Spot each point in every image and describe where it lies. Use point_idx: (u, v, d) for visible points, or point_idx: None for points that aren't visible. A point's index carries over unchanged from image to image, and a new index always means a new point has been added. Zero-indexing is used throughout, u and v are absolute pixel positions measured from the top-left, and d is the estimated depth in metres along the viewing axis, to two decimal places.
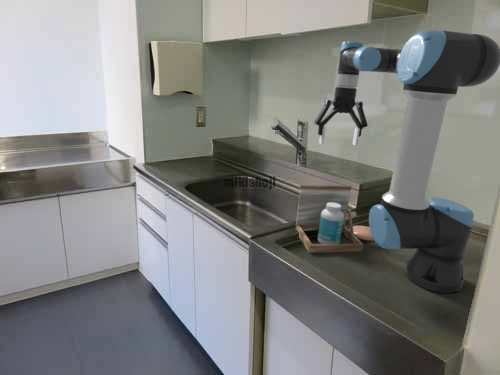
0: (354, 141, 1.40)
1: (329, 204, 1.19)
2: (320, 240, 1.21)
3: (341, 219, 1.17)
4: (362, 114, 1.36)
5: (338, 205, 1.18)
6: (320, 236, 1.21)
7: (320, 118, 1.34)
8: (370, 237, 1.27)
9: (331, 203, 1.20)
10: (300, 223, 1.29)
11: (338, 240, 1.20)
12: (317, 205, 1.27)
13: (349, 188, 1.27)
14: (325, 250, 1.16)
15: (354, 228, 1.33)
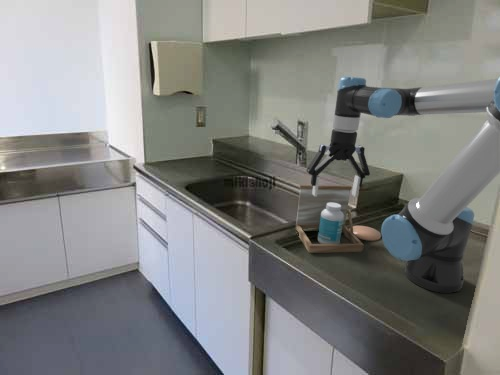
0: (354, 191, 1.18)
1: (329, 204, 1.19)
2: (320, 240, 1.21)
3: (341, 219, 1.17)
4: (363, 161, 1.14)
5: (338, 205, 1.18)
6: (320, 236, 1.21)
7: (313, 167, 1.12)
8: (370, 237, 1.27)
9: (331, 203, 1.20)
10: (300, 223, 1.29)
11: (338, 240, 1.20)
12: (317, 205, 1.27)
13: (349, 188, 1.27)
14: (325, 250, 1.16)
15: (354, 228, 1.33)
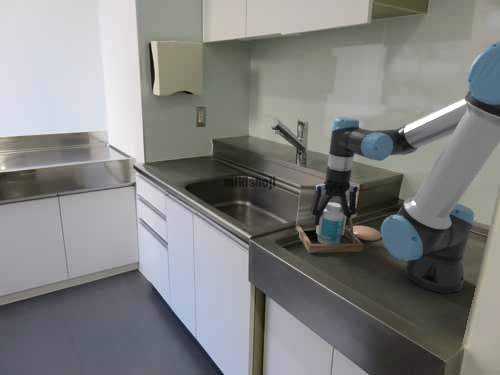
0: None
1: (329, 204, 1.19)
2: (320, 240, 1.21)
3: (341, 219, 1.17)
4: (353, 200, 1.18)
5: (338, 205, 1.18)
6: (320, 236, 1.21)
7: (315, 207, 1.17)
8: (370, 237, 1.27)
9: (331, 203, 1.20)
10: (300, 223, 1.29)
11: (338, 240, 1.20)
12: None
13: None
14: (325, 250, 1.16)
15: (354, 228, 1.33)
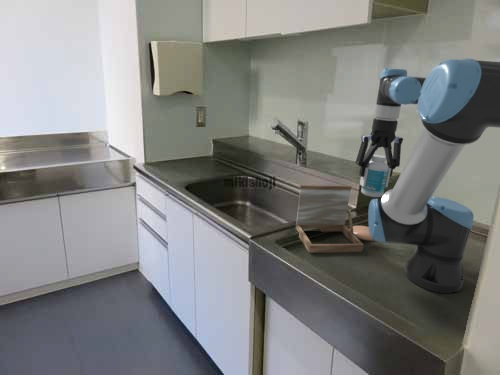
0: None
1: (374, 156, 1.22)
2: (365, 191, 1.24)
3: (386, 170, 1.21)
4: (398, 152, 1.21)
5: (383, 156, 1.22)
6: (365, 187, 1.24)
7: (361, 158, 1.20)
8: (370, 237, 1.27)
9: (376, 155, 1.23)
10: (300, 223, 1.29)
11: (382, 191, 1.23)
12: (317, 205, 1.27)
13: (349, 188, 1.27)
14: (325, 250, 1.16)
15: (354, 228, 1.33)
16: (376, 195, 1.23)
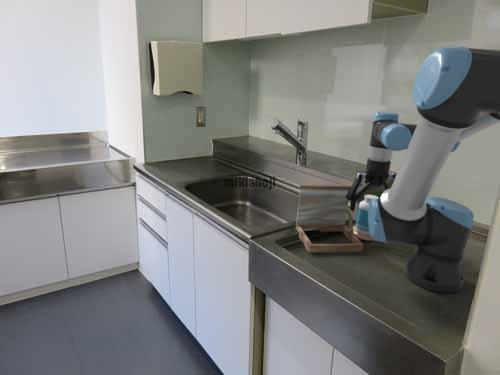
0: None
1: (367, 196, 1.27)
2: (358, 230, 1.29)
3: None
4: None
5: (376, 197, 1.27)
6: (358, 226, 1.29)
7: (352, 194, 1.24)
8: (370, 237, 1.27)
9: (369, 195, 1.28)
10: (300, 223, 1.29)
11: None
12: (317, 205, 1.27)
13: (349, 188, 1.27)
14: (325, 250, 1.16)
15: (354, 228, 1.33)
16: (369, 234, 1.27)
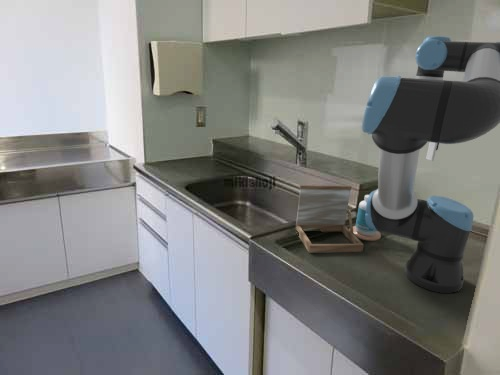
0: (429, 155, 1.19)
1: (367, 196, 1.27)
2: (358, 230, 1.29)
3: None
4: None
5: None
6: (358, 226, 1.29)
7: None
8: (370, 237, 1.27)
9: None
10: (300, 223, 1.29)
11: (375, 230, 1.28)
12: (317, 205, 1.27)
13: (349, 188, 1.27)
14: (325, 250, 1.16)
15: (354, 228, 1.33)
16: (369, 234, 1.27)
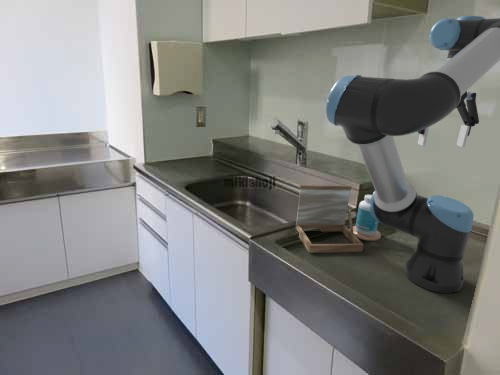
0: (460, 141, 1.15)
1: (367, 196, 1.27)
2: (358, 230, 1.29)
3: None
4: (474, 108, 1.10)
5: None
6: (358, 226, 1.29)
7: None
8: (370, 237, 1.27)
9: (369, 195, 1.28)
10: (300, 223, 1.29)
11: (375, 230, 1.28)
12: (317, 205, 1.27)
13: (349, 188, 1.27)
14: (325, 250, 1.16)
15: (354, 228, 1.33)
16: (369, 234, 1.27)
